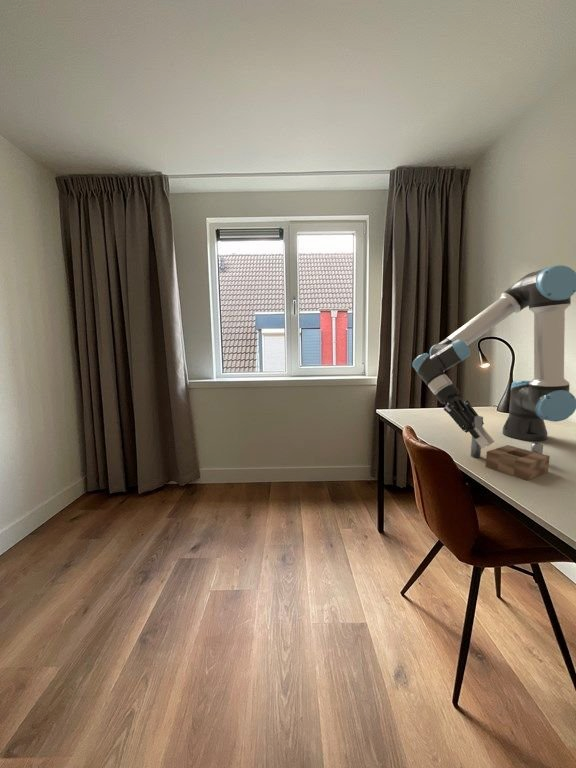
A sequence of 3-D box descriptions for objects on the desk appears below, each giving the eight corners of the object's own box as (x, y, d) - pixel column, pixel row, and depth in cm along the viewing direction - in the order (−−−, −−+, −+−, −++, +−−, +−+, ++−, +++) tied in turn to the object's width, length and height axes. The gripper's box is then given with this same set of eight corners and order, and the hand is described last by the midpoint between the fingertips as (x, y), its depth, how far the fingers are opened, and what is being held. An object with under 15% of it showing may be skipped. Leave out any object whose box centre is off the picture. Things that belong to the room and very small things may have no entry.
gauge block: (506, 459, 112) (507, 445, 111) (548, 471, 102) (549, 456, 101) (485, 466, 106) (486, 451, 105) (527, 480, 96) (528, 463, 95)
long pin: (473, 454, 117) (476, 415, 115) (482, 456, 114) (485, 417, 113) (468, 455, 116) (471, 416, 114) (477, 458, 113) (479, 418, 111)
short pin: (533, 459, 112) (534, 442, 111) (543, 462, 109) (545, 444, 108) (528, 461, 110) (530, 443, 109) (538, 464, 108) (540, 446, 107)
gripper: (448, 393, 129) (491, 445, 118) (424, 398, 120) (467, 455, 109) (463, 381, 124) (508, 434, 113) (438, 385, 115) (485, 444, 104)
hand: (488, 444), depth 111 cm, fingers closed on long pin, 3 cm apart
